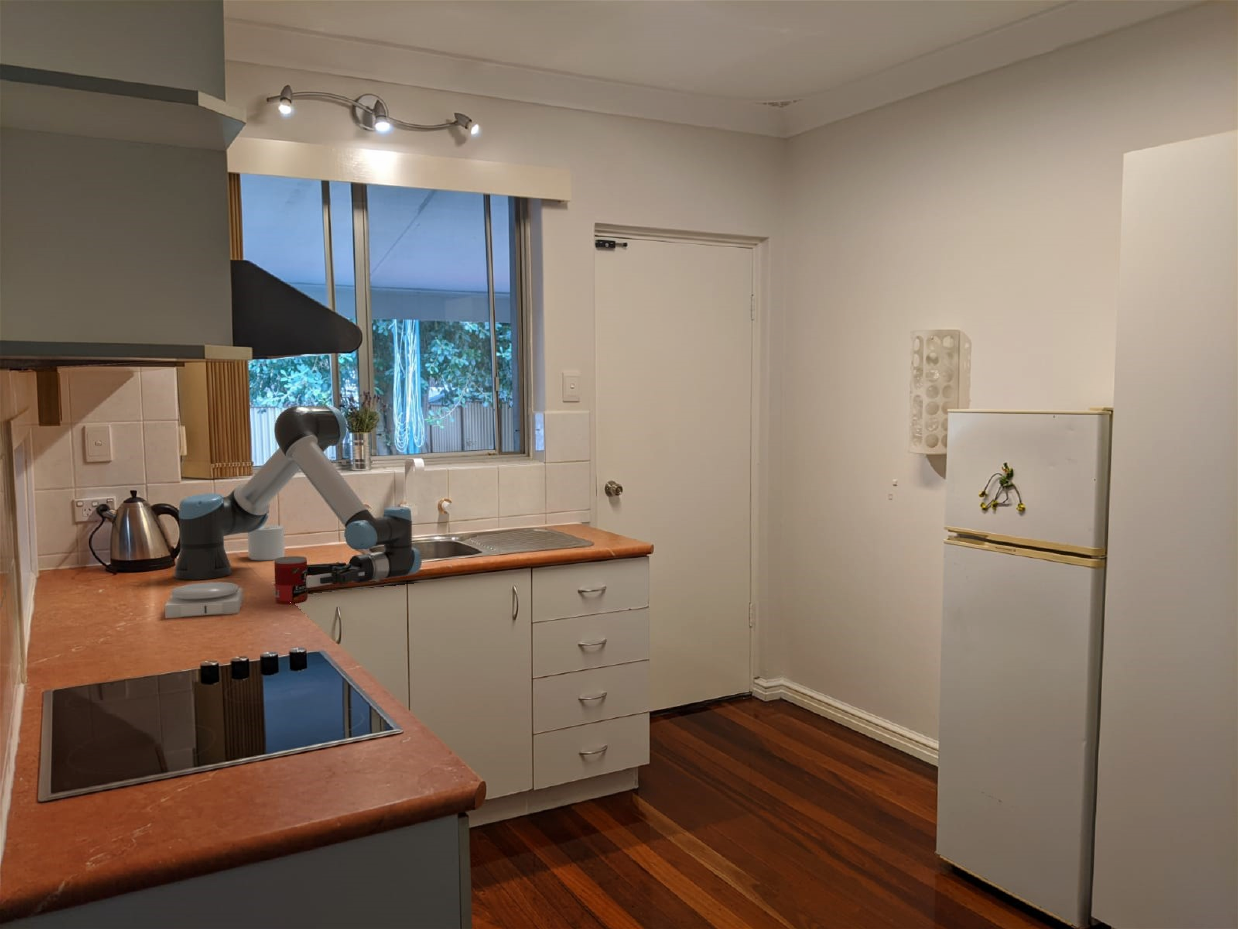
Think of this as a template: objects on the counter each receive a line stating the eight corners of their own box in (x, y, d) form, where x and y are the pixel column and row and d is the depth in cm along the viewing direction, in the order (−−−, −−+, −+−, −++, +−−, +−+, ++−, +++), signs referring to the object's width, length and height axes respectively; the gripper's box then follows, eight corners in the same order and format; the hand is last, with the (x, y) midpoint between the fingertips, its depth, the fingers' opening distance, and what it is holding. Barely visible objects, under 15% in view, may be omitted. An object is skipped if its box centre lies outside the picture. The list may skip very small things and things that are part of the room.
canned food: (297, 605, 232) (296, 561, 231) (269, 603, 234) (267, 560, 233) (313, 598, 240) (312, 556, 239) (285, 597, 241) (284, 555, 240)
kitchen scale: (174, 604, 233) (173, 584, 233) (242, 599, 238) (242, 580, 238) (164, 619, 217) (163, 598, 217) (238, 614, 222) (237, 593, 222)
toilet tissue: (280, 560, 296) (279, 529, 296) (241, 561, 295) (240, 530, 294) (287, 555, 307) (287, 525, 306) (250, 555, 305) (249, 525, 305)
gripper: (393, 587, 243) (318, 600, 228) (344, 575, 260) (271, 586, 245) (392, 559, 243) (317, 570, 227) (343, 548, 260) (271, 558, 245)
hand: (293, 578), depth 236 cm, fingers open, 13 cm apart
